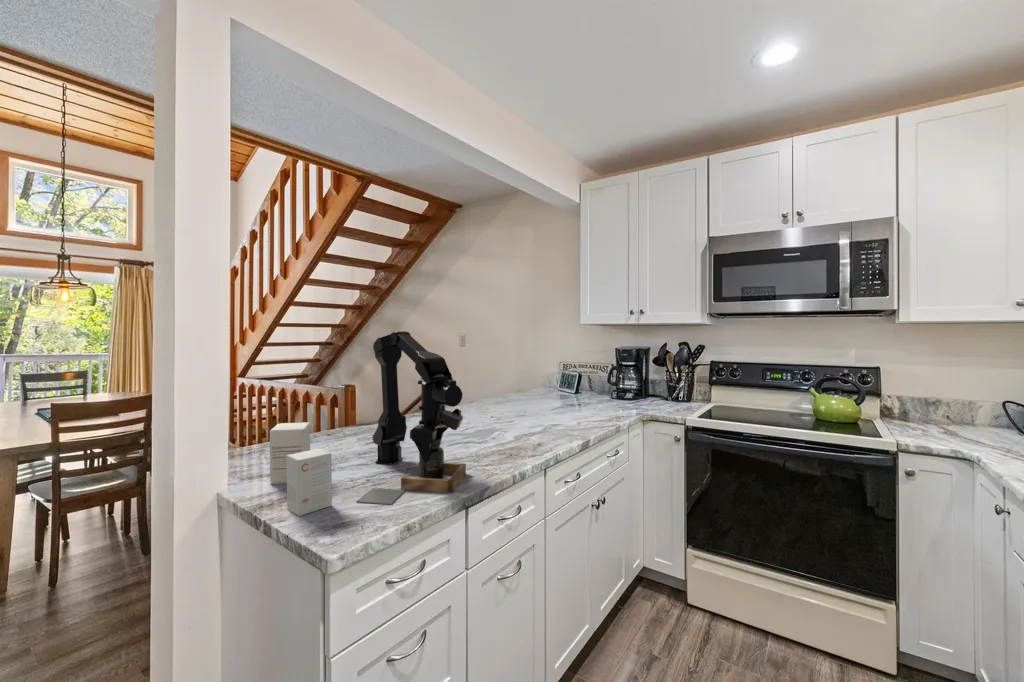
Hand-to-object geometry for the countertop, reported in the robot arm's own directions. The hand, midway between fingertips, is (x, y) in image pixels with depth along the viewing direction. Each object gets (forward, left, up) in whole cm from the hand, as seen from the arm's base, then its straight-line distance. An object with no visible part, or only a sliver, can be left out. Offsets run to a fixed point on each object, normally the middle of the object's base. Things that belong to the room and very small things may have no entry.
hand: (431, 456), depth 124 cm
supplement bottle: (0, 0, -7) cm, 7 cm away
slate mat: (-9, -13, -7) cm, 17 cm away
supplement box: (-40, -4, -7) cm, 41 cm away
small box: (-23, -22, -7) cm, 33 cm away
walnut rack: (+1, 0, -7) cm, 7 cm away
